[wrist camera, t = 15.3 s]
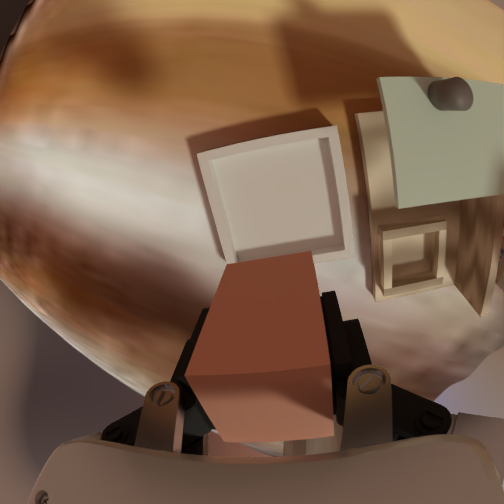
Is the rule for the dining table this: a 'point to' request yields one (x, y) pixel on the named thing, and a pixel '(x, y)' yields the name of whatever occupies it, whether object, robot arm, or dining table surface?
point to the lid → (443, 138)
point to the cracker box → (501, 266)
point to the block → (265, 353)
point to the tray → (280, 196)
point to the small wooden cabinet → (426, 232)
